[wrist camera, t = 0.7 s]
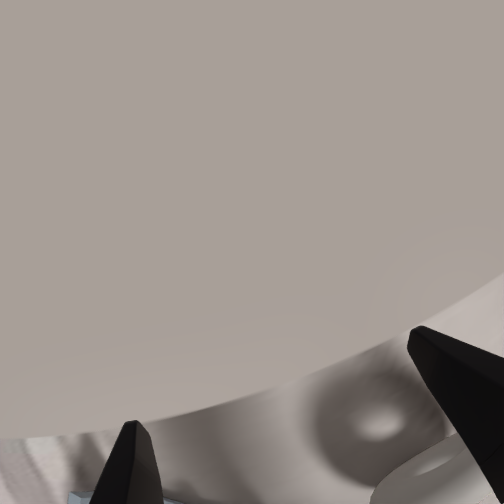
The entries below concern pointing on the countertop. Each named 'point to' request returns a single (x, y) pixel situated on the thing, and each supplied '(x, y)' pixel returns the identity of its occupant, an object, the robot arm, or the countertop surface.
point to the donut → (435, 478)
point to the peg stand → (80, 500)
